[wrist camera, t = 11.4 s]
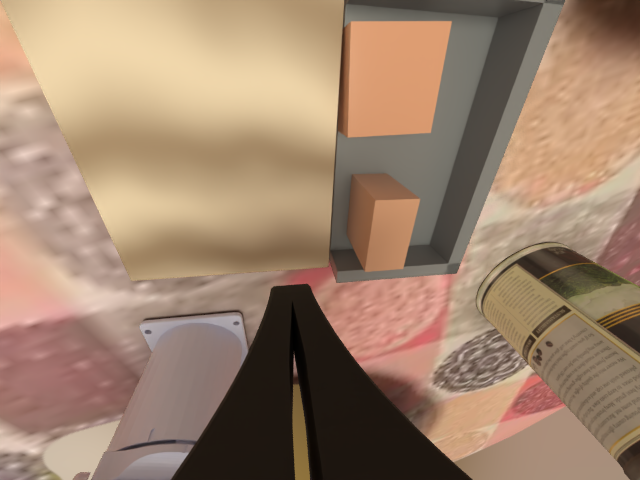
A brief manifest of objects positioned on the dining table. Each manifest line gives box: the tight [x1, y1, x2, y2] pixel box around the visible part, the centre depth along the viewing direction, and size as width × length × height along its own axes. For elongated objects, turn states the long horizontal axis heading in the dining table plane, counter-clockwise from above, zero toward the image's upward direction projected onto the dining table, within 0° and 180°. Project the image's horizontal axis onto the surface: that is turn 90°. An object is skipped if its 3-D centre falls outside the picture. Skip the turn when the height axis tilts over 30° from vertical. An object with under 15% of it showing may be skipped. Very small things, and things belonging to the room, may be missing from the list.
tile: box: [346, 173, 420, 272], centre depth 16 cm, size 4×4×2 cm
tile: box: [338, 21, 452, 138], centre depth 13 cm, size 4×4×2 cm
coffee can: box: [476, 243, 640, 480], centre depth 20 cm, size 10×10×14 cm
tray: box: [329, 0, 565, 283], centre depth 15 cm, size 16×9×3 cm, turn 178°
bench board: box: [0, 0, 344, 281], centre depth 14 cm, size 15×13×2 cm
